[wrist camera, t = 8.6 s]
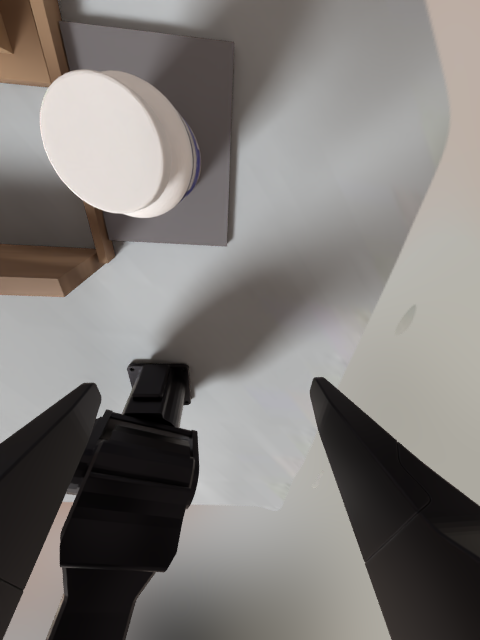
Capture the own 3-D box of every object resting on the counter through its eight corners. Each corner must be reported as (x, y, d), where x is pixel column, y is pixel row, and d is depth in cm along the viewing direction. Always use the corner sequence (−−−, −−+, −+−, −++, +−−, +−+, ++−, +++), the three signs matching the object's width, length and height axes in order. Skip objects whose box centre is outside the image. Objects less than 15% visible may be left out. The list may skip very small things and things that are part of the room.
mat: (226, 244, 19) (226, 246, 19) (112, 238, 18) (109, 240, 18) (233, 46, 13) (234, 42, 13) (65, 26, 13) (58, 20, 12)
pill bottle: (130, 203, 17) (55, 232, 9) (107, 104, 14) (-29, 31, 6) (205, 202, 17) (190, 230, 9) (198, 105, 14) (168, 35, 7)
